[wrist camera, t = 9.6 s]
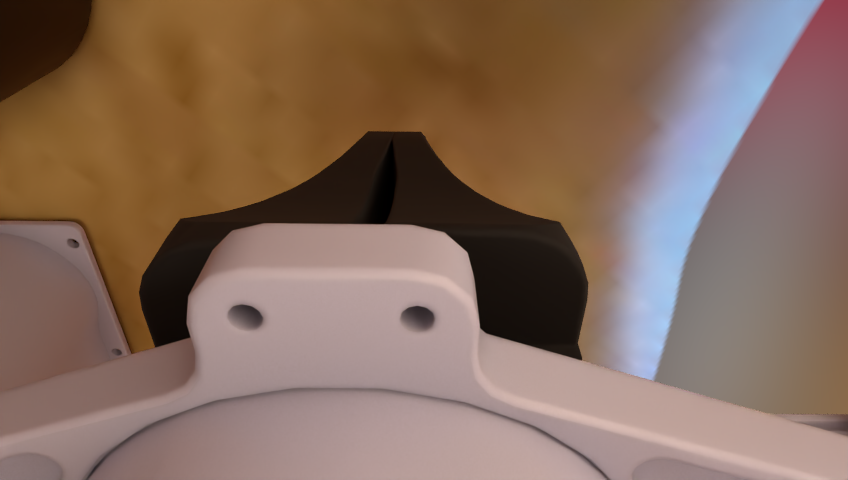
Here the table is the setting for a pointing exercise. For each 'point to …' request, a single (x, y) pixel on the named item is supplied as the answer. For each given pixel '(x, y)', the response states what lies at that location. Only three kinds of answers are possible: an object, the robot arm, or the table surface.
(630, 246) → the table surface
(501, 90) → the table surface
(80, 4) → the mug
